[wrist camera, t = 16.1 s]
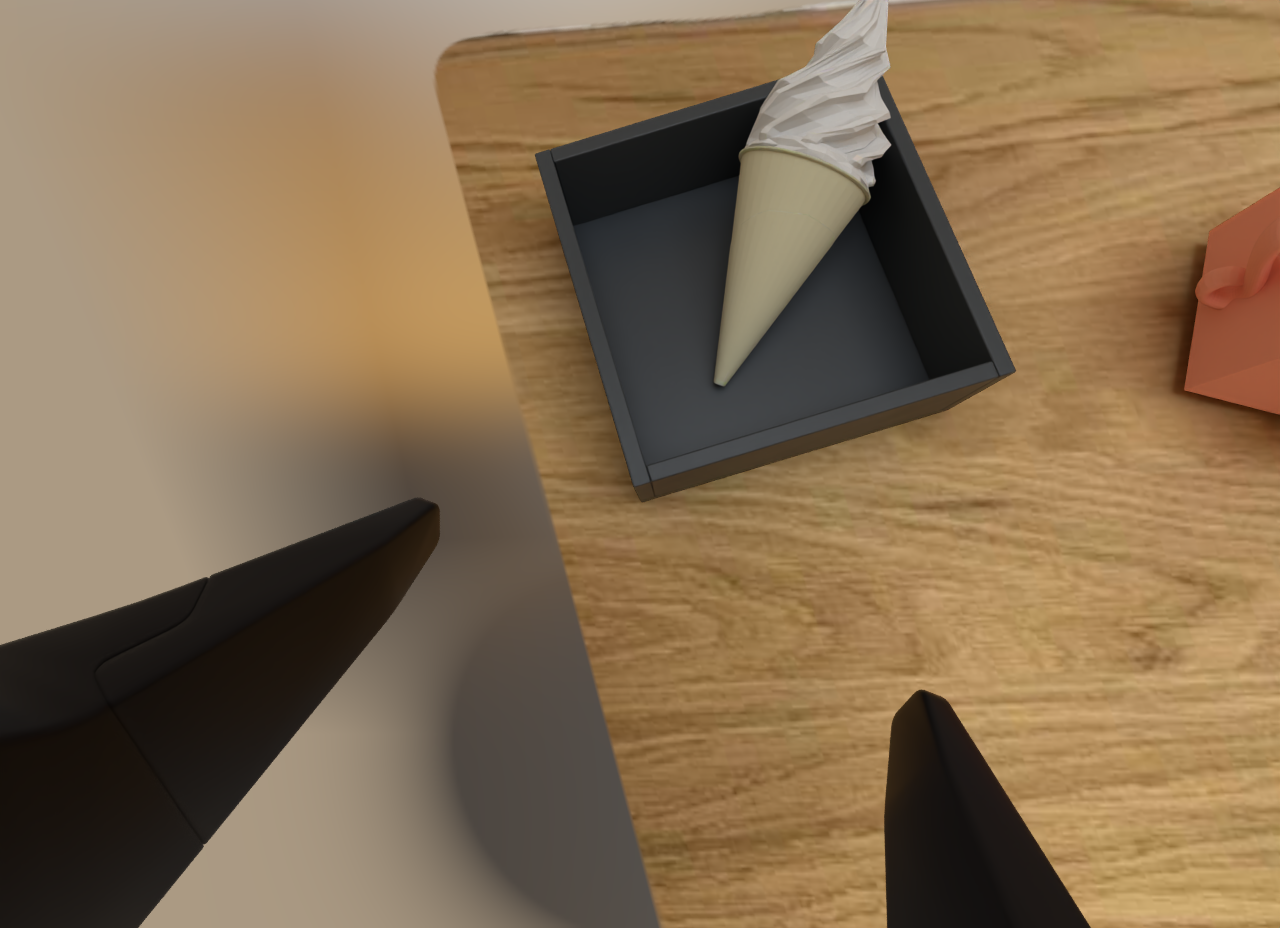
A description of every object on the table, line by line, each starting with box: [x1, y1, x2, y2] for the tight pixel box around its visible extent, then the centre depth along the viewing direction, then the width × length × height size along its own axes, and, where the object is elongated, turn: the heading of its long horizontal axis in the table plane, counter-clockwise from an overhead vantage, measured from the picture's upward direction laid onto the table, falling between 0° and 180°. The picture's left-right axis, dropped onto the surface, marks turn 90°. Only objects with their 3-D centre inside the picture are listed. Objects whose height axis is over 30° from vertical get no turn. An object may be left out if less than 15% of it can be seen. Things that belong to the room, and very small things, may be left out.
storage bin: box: [535, 76, 1016, 502], centre depth 22 cm, size 13×13×5 cm
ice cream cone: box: [714, 0, 891, 386], centre depth 20 cm, size 5×5×15 cm
